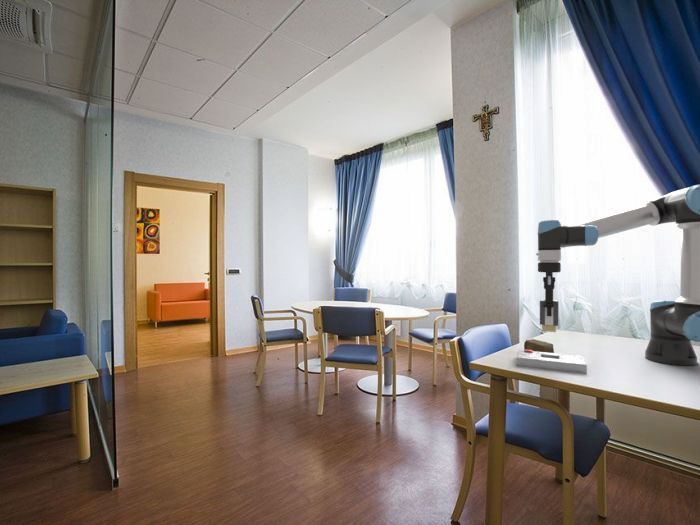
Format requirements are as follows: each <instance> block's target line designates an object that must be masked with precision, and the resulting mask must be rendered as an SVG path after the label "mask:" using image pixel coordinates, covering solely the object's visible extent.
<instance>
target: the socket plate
mask: <svg viewBox="0 0 700 525" xmlns="http://www.w3.org/2000/svg"><path fill="white" fill-rule="evenodd" d="M518 365H519V367H528V368H537V369H545V370H553V371H554V370H555V371H561V372H563V371H564V372H570V373H571V372H573V373H581V374H588V372H587V371H588V370H587V369H588V368H587V367H588V365H587V362H586V359H585V357H584V355H577V354H567V353H566V354H565V353H557V352H556V353H555V352H554V353H548V352H538V351H533V350H527V349H524V348H523V349H518V352H517V355H516V366H518Z"/></svg>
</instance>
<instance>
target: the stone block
mask: <svg viewBox="0 0 700 525" xmlns="http://www.w3.org/2000/svg"><path fill="white" fill-rule="evenodd" d="M524 349H527V350H533V351H538V352H548V353H555V351H554V344H553V343H550V342H547V341H542V340H538V339H534V338H532V339H526V340H525V341H524V342H523V350H524Z"/></svg>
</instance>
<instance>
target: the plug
mask: <svg viewBox="0 0 700 525" xmlns="http://www.w3.org/2000/svg"><path fill="white" fill-rule="evenodd" d="M553 304H554V305H553V325H545V307H543V305H545V299H542V298H540V299H539V325H540V326H541V331H542V332H547V333H548V332H549V333H556V332H557V327H558V326H559V299H553Z"/></svg>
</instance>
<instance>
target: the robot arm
mask: <svg viewBox="0 0 700 525" xmlns="http://www.w3.org/2000/svg"><path fill="white" fill-rule="evenodd" d="M667 223H669V224H670V223H675V226H676V227H677V228H678V229H680V231H681V232H680V233H681V234H680V235H681V236H680V237H681V238H680V285H679V286H680V287H679V288H680V291H679V292H680V295H679V297H678V298H677V299H675V300H653V301H652V302H651V303H650V307H649V308H650V309H649V312H650V313H649V314H650V315H649V317H650V318H649V319H650V340H649V342H648V343H647V346H646V348H645V350H644V351H645V352H644V358H646V359H647V360H650V361H652V362H657V363H662V364H666V365H667V364H668V365H674V366H675V365H676V366H695V365H698V356H697V354H696V352H695V349H694V346H693V344H692V342H695V343H697V342H698V343H700V184H695V185H692V186H689V187H685V188H682V189H678V190H674V191H672V192H669V193H668V194H665V195H662V196H660V197H657V198H655V199H652V200H649V201H646V202H644V203H643V204H642V205H641V206H637V207H634V208H629V209H627V210H624V211H619V212H617V213H614V214H610V215H607V216H604V217H603V216H602V217H599V218H596V219H592V220H588V221H585V222H581V223H578V224H575V225H562V222H561V220H558V219H549V220H548V219H547V220H541V221H540V222H538V226H537V227H538V228H537V252H536V254H535V255H536V256H538V257H537V261H538V263H537V272H539V273H545V276H543V278H542V282H543V288H544V291H545V296H544V297H545V305H543V307H545V325H553V305H554V304H553V300H554V290H555V283H556V277H554V275H553V273H561V270H562V268H561V267H562V266H561V262H560V261H562V249H563V248H567V247H568V248H569V247H580V246H582V247H583V246H584V247H589V246H591V247H592V246H595V245H596V244H597V242H598V240H599V239H600V238H603V237H608V236H611V235H615V234H619V233H623V232H626V231H630V230H634V229H637V228H640V227H645V226H647V225H649V226H652V227H653V226H657V225H662V224H667ZM691 341H692V342H691Z"/></svg>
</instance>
